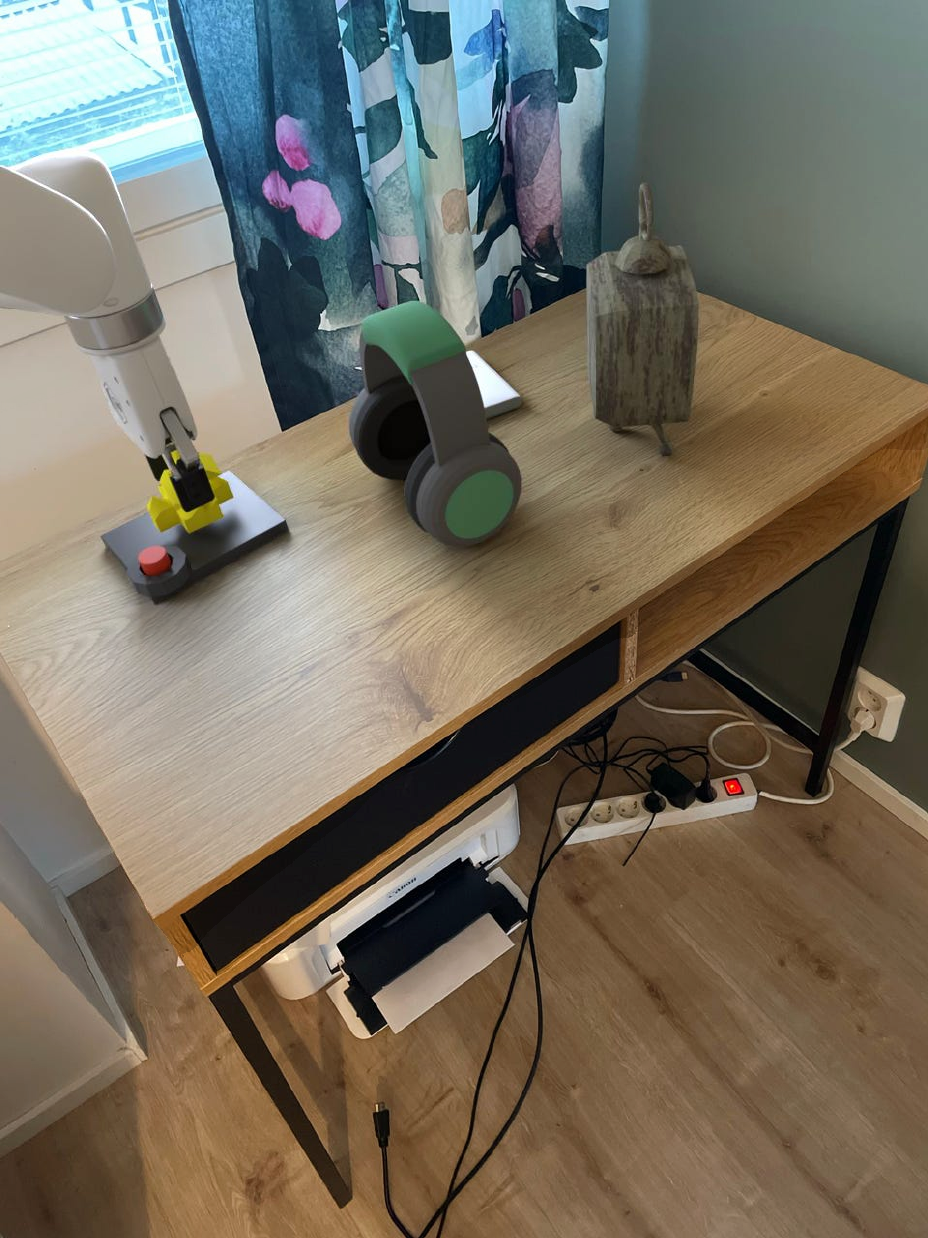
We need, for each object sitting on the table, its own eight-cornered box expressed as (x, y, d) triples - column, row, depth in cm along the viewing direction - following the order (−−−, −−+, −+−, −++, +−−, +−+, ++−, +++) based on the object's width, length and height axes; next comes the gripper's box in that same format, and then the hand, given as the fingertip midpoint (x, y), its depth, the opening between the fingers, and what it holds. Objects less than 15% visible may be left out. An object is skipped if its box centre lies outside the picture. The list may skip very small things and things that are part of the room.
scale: (153, 615, 84) (141, 593, 81) (98, 549, 91) (86, 527, 89) (295, 536, 90) (288, 512, 87) (233, 480, 97) (224, 457, 95)
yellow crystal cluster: (146, 515, 90) (117, 451, 85) (218, 481, 93) (194, 417, 87) (169, 543, 86) (140, 478, 81) (243, 507, 89) (219, 442, 84)
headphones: (352, 474, 96) (309, 296, 82) (441, 437, 99) (415, 260, 85) (434, 573, 84) (401, 384, 69) (534, 528, 87) (521, 338, 72)
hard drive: (456, 430, 100) (413, 380, 108) (522, 407, 101) (475, 359, 110) (455, 418, 98) (411, 368, 107) (521, 394, 100) (473, 347, 108)
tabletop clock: (686, 465, 91) (709, 215, 73) (596, 472, 92) (597, 226, 74) (667, 388, 101) (682, 152, 83) (586, 394, 102) (584, 162, 84)
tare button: (151, 580, 83) (145, 568, 82) (139, 566, 85) (133, 554, 84) (176, 566, 84) (170, 554, 83) (164, 553, 86) (158, 541, 85)
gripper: (39, 300, 79) (117, 468, 92) (110, 371, 68) (186, 549, 81) (119, 271, 81) (183, 437, 94) (199, 335, 71) (259, 512, 84)
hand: (184, 487), depth 88 cm, fingers closed on yellow crystal cluster, 5 cm apart
